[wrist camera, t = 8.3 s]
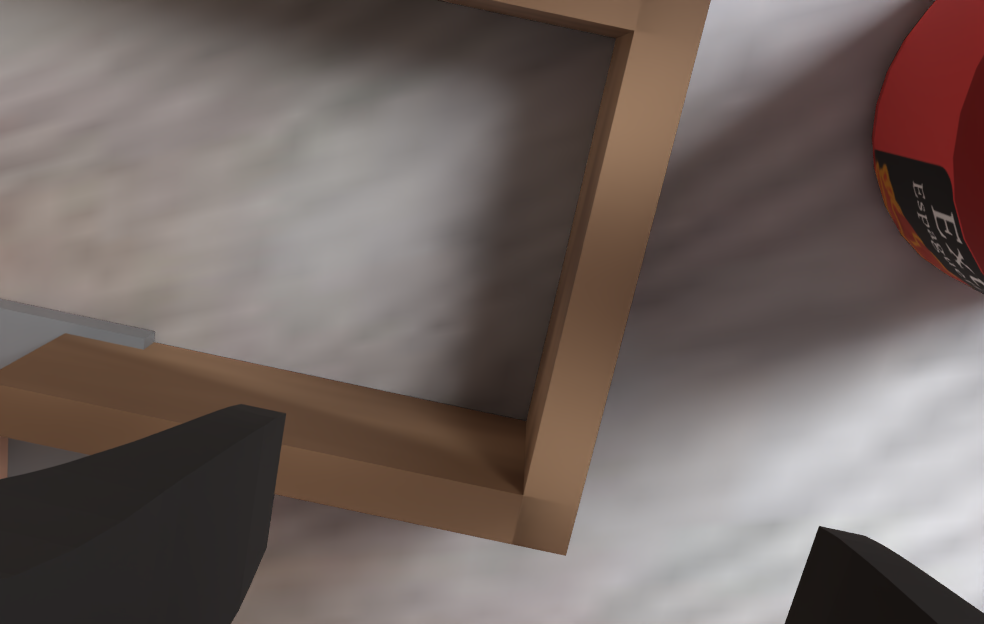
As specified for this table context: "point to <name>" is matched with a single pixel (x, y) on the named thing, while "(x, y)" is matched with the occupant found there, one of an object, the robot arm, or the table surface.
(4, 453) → the block
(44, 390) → the brown piece
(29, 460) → the coaster
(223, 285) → the table surface
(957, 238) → the canned food
